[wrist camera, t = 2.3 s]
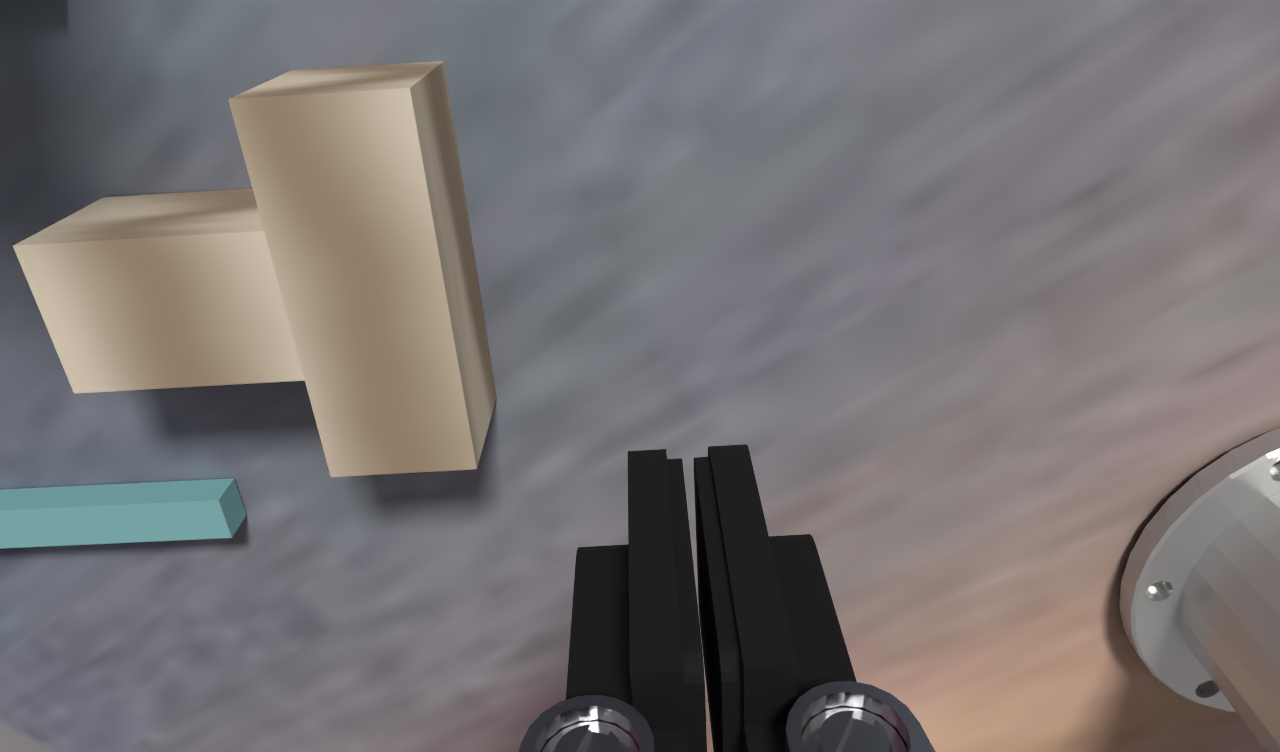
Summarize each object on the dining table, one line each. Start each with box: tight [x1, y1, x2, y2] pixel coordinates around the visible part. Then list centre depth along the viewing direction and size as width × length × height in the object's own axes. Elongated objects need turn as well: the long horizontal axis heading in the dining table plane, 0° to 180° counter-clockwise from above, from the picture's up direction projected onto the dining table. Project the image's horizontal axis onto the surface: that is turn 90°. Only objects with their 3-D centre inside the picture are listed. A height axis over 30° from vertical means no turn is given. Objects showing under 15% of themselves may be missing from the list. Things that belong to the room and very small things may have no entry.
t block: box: [13, 61, 497, 477], centre depth 23 cm, size 10×10×4 cm
